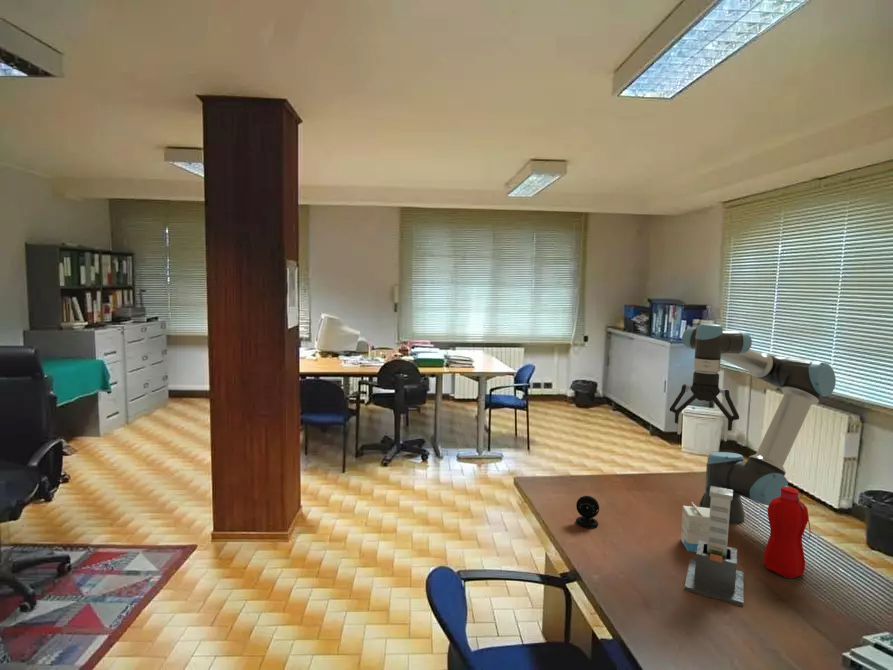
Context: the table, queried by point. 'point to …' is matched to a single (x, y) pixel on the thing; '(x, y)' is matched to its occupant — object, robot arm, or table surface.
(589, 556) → the table surface
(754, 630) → the table surface
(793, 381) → the robot arm
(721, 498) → the column
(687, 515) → the ink box
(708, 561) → the stand base
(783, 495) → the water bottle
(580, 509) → the webcam
